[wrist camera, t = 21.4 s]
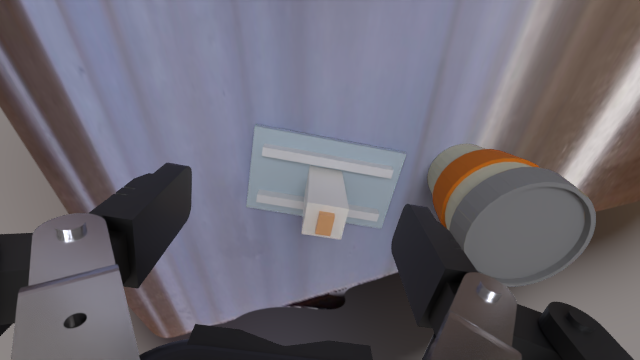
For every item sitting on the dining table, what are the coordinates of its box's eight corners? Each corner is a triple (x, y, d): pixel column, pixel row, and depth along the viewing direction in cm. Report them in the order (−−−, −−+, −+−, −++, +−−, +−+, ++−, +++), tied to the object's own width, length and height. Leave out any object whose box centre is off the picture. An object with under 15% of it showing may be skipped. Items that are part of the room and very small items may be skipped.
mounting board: (247, 203, 43) (243, 212, 41) (256, 123, 38) (252, 129, 36) (379, 225, 45) (383, 234, 43) (404, 151, 40) (409, 158, 38)
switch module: (304, 191, 41) (301, 238, 32) (309, 165, 40) (307, 206, 30) (335, 196, 42) (341, 244, 32) (341, 170, 40) (349, 212, 30)
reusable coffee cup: (506, 200, 43) (592, 273, 30) (421, 221, 45) (466, 299, 31) (504, 118, 38) (606, 162, 25) (407, 145, 40) (454, 200, 26)
